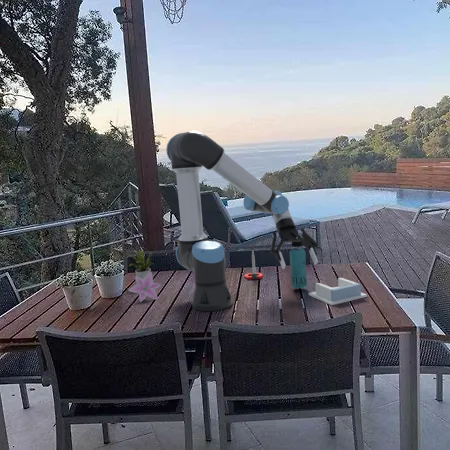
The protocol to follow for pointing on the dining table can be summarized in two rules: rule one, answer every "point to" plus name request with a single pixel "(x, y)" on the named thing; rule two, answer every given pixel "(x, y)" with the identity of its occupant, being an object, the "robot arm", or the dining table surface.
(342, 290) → the stop cradle
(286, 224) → the robot arm
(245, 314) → the dining table surface
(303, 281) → the beverage bottle
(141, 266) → the house plant
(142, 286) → the lily
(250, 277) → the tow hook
